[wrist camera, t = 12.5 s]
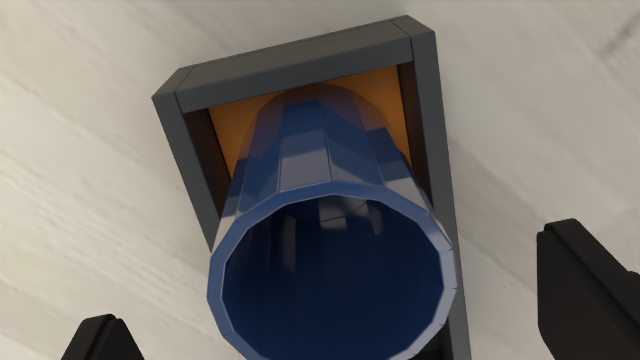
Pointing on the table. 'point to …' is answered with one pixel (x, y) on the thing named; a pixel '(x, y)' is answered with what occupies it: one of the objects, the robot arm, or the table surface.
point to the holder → (313, 68)
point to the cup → (328, 237)
